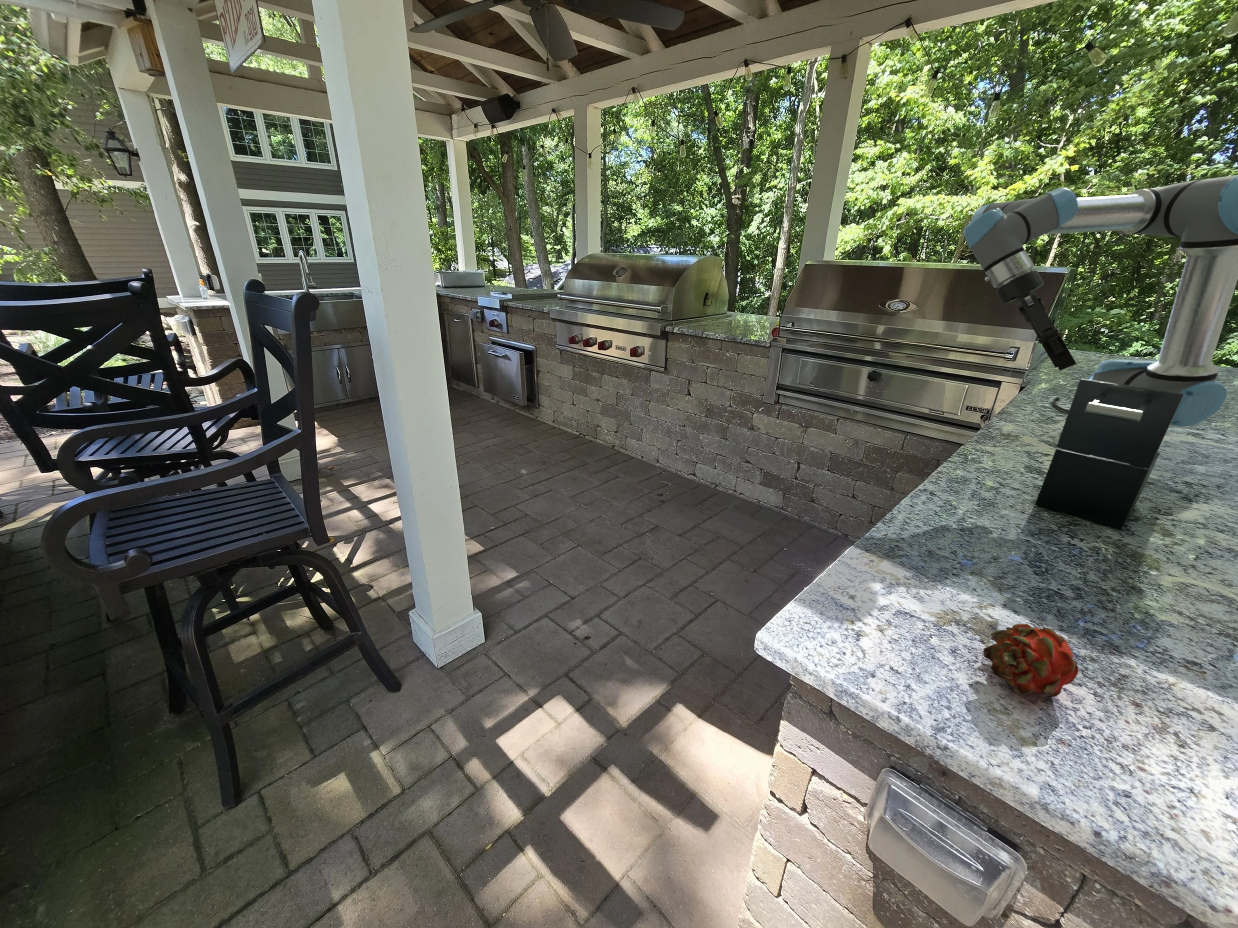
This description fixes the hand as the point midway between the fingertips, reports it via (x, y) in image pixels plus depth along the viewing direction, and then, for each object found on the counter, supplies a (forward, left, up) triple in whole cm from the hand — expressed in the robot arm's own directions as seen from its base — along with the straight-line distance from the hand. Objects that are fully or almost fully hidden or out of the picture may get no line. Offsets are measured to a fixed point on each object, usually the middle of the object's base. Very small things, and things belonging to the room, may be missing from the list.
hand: (1065, 366), depth 105 cm
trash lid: (+11, +12, -7) cm, 18 cm away
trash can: (+4, +12, -27) cm, 30 cm away
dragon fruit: (+69, +18, -28) cm, 77 cm away
